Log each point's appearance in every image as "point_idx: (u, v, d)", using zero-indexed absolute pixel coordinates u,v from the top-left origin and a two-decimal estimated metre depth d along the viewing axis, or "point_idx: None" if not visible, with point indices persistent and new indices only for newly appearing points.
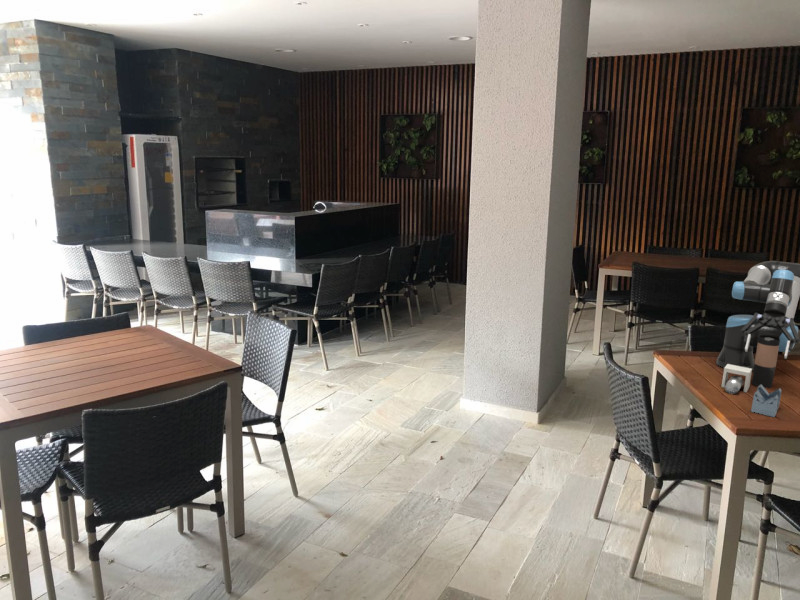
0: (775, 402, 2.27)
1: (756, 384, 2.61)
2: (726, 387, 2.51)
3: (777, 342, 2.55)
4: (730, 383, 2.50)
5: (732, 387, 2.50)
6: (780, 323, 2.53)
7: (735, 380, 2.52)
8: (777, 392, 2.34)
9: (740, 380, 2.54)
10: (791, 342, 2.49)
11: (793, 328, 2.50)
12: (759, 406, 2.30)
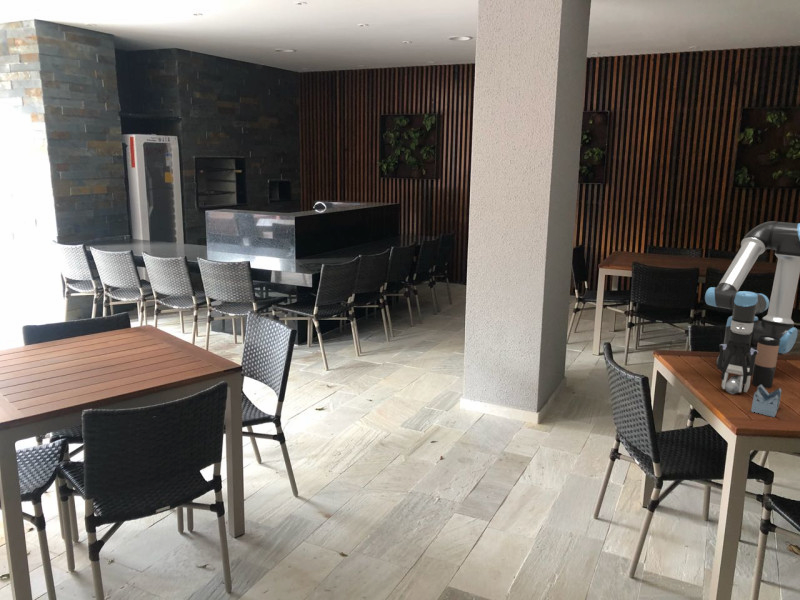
0: (775, 402, 2.27)
1: (756, 384, 2.61)
2: (726, 387, 2.51)
3: (777, 342, 2.55)
4: (730, 383, 2.50)
5: (732, 387, 2.50)
6: (742, 355, 2.46)
7: (735, 380, 2.52)
8: (777, 392, 2.34)
9: None
10: (744, 377, 2.48)
11: (752, 362, 2.45)
12: (759, 406, 2.30)
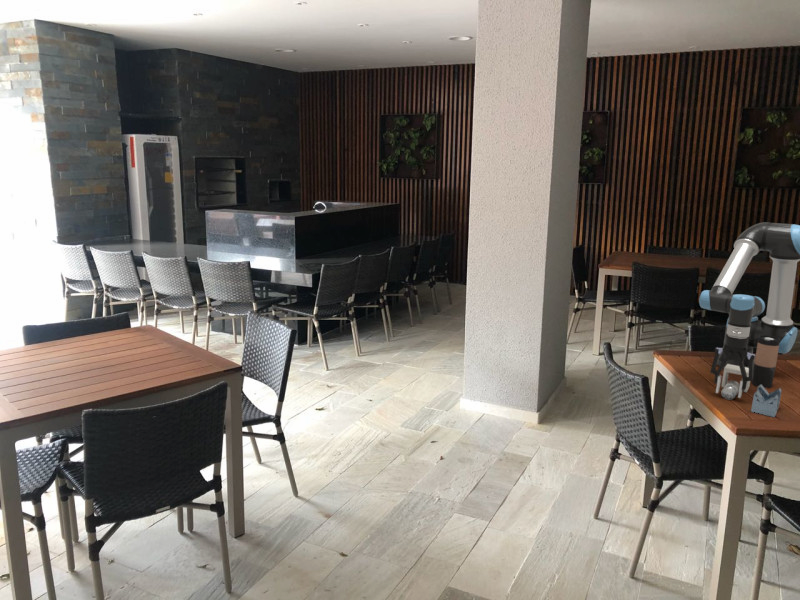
0: (775, 402, 2.27)
1: (756, 384, 2.61)
2: (723, 392, 2.45)
3: (777, 342, 2.55)
4: (727, 388, 2.44)
5: (729, 393, 2.44)
6: (739, 360, 2.40)
7: (732, 385, 2.45)
8: (777, 392, 2.34)
9: (737, 386, 2.48)
10: (744, 382, 2.41)
11: (750, 367, 2.38)
12: (759, 406, 2.30)
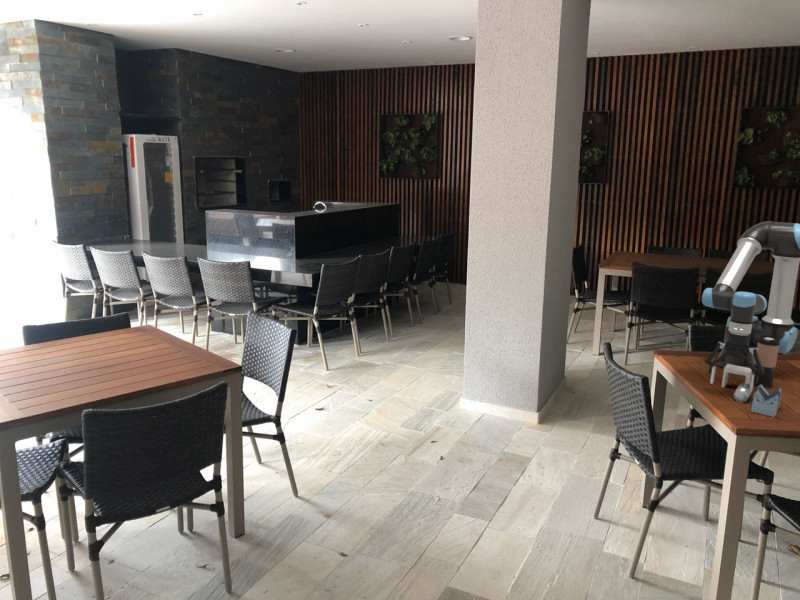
0: (775, 402, 2.27)
1: (756, 384, 2.61)
2: (743, 392, 2.41)
3: (777, 342, 2.55)
4: (746, 397, 2.40)
5: (741, 397, 2.41)
6: (743, 356, 2.42)
7: None
8: (777, 392, 2.34)
9: None
10: (756, 376, 2.41)
11: (757, 361, 2.40)
12: (759, 406, 2.30)
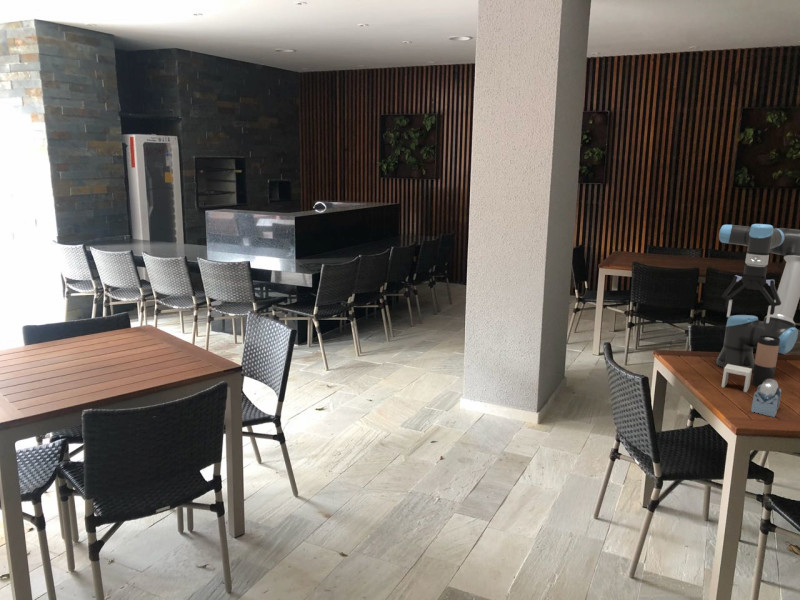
0: (775, 402, 2.27)
1: (756, 384, 2.61)
2: (760, 390, 2.30)
3: (777, 342, 2.55)
4: (767, 387, 2.29)
5: (767, 392, 2.29)
6: (760, 288, 2.43)
7: (772, 385, 2.30)
8: (777, 392, 2.34)
9: (776, 386, 2.33)
10: (772, 307, 2.43)
11: (774, 292, 2.41)
12: (759, 406, 2.30)
